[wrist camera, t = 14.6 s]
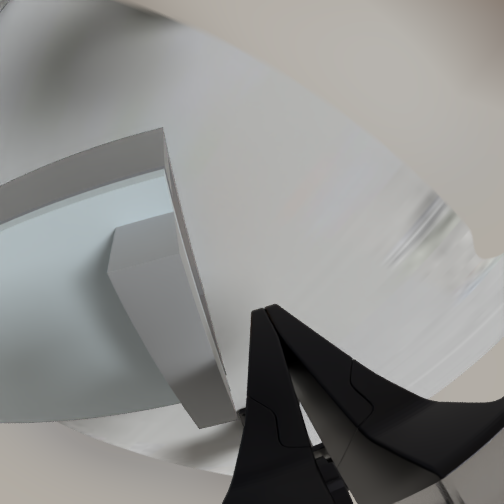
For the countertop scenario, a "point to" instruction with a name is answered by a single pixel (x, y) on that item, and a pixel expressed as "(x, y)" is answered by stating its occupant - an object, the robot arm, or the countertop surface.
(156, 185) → the lid
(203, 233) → the countertop surface
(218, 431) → the countertop surface
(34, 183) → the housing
